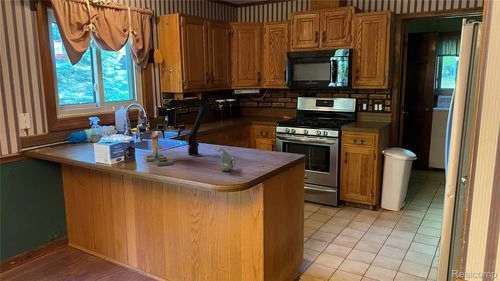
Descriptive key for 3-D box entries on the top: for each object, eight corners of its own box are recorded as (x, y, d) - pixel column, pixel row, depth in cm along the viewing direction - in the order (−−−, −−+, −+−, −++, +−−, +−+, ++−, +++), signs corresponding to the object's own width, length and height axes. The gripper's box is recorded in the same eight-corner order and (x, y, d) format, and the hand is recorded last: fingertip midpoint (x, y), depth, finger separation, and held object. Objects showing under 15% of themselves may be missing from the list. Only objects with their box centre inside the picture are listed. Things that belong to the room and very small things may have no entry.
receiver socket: (169, 161, 245) (169, 158, 245) (172, 164, 237) (172, 161, 237) (155, 163, 242) (154, 160, 241) (157, 166, 233) (157, 163, 233)
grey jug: (217, 167, 228) (216, 143, 226) (234, 167, 229) (233, 143, 227) (217, 174, 212) (216, 149, 209) (235, 173, 213) (234, 148, 210)
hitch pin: (161, 157, 256) (160, 134, 253) (158, 159, 251) (157, 136, 248) (153, 157, 257) (152, 134, 254) (150, 159, 251) (148, 136, 248)
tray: (163, 156, 261) (163, 154, 261) (166, 159, 252) (166, 157, 252) (144, 158, 255) (144, 156, 255) (147, 161, 246) (147, 159, 246)
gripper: (183, 116, 266) (182, 138, 268) (156, 115, 260) (156, 137, 262) (185, 118, 255) (184, 140, 257) (158, 117, 249) (157, 139, 251)
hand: (170, 139), depth 257 cm, fingers open, 9 cm apart
